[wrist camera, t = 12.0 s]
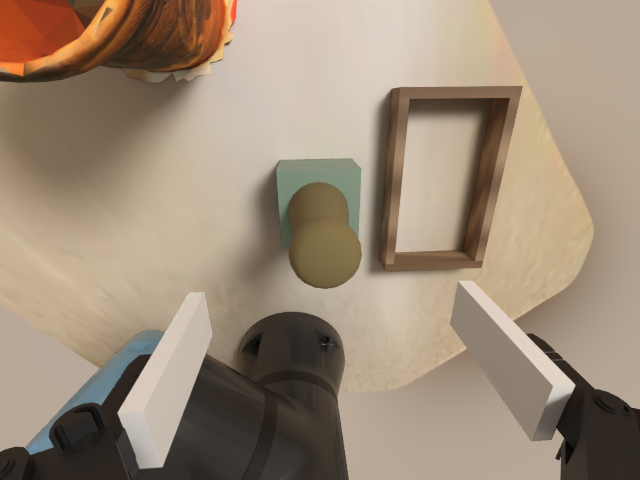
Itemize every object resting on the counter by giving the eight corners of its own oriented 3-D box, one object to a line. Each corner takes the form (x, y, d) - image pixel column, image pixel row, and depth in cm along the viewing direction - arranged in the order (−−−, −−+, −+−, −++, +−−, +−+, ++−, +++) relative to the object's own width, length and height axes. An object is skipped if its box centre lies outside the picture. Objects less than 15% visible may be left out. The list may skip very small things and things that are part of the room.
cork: (275, 218, 31) (263, 273, 21) (312, 169, 29) (318, 203, 19) (323, 250, 32) (334, 316, 22) (360, 205, 31) (390, 255, 21)
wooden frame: (469, 256, 41) (481, 267, 38) (379, 259, 40) (384, 271, 37) (503, 87, 33) (522, 86, 30) (391, 88, 32) (400, 87, 29)
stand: (349, 225, 38) (357, 245, 32) (284, 227, 37) (281, 248, 32) (351, 158, 35) (361, 168, 29) (280, 160, 34) (276, 170, 29)
